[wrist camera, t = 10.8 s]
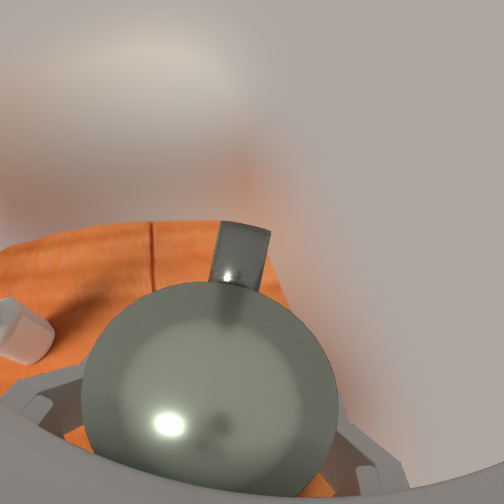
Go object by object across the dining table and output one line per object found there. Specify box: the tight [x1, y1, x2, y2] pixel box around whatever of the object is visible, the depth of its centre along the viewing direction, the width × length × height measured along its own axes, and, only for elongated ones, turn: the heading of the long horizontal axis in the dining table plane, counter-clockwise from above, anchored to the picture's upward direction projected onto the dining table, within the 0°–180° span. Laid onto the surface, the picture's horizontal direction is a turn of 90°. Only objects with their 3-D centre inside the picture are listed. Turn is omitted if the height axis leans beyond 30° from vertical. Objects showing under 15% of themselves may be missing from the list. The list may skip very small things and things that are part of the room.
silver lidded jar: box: [81, 221, 339, 497], centre depth 9 cm, size 5×7×9 cm
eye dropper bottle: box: [0, 297, 55, 365], centre depth 19 cm, size 4×6×12 cm
